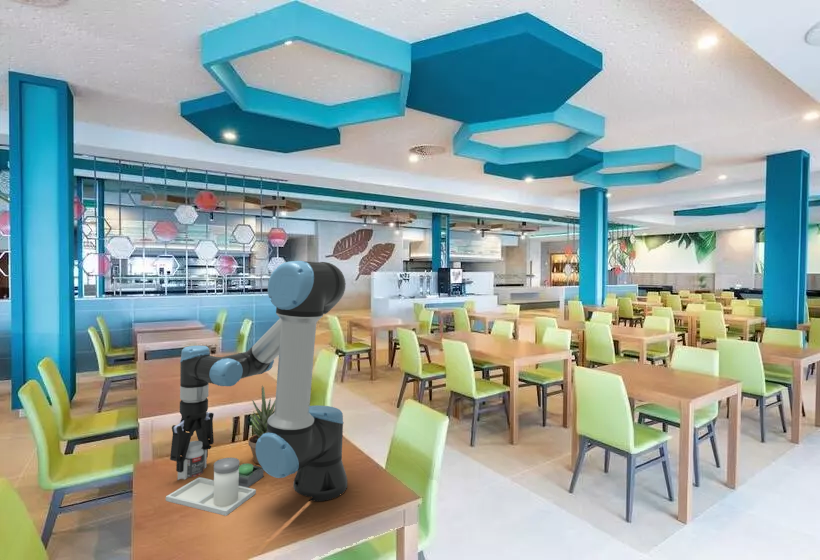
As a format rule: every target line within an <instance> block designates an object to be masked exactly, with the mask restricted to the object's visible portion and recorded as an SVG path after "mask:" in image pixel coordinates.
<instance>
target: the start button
mask: <svg viewBox="0 0 820 560" xmlns="http://www.w3.org/2000/svg"><path fill="white" fill-rule="evenodd" d="M253 465H254V464H252V463H242V464H239V474H241V475H246V476H248V475H249V474H251V473H252V472H253Z"/></svg>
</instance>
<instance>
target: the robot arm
mask: <svg viewBox="0 0 820 560" xmlns="http://www.w3.org/2000/svg"><path fill="white" fill-rule="evenodd" d="M345 291H346V278H345V276H344V274H343V272H342V271H341V269H340V268H339V267H338V266H336V265H334V264H333V263H330V262H326V261H306V260H305V261H304V260H293V261H292V260H291V261H284V262H283V263H281V264H280V265H278V266H277V267H276V268H275V269H274V270H273V271H272V273H271V274H270V276H269V280H268V283H267V295H268V298H269V299H270V302H271V304H272V305H273V306H274V307H276V309H275V314H276V315H277V317H278V318H279V319H277V321H276V322H274V324H272V326H271V327H269V328H268V330H266V332H265V333H264V334H263V335H262V336H261V337H260V338H259V339H258V340H257V341H256V342H255V344H253V345H251V347H250V348H249V349H248V350H246V351H243V352H240V353H239V352H238V353H236V354H231V355H225V356H215V355H214V356H213V355H211V352H210V348H209V347H208V346H207V345H190V346H185V347H183V349H181V355H180V361H179V363H180V365H179V367H180V369H179V370H180V375H179V376H180V381H179V382H180V383H179V384H180V386H179V391H180V392H179V399H180V401H179V414H180V415H181V418H180V421H179V423H178V424H176V425H174V424H173V425H172V426H171V431H172V438H171V447H170V448H171V449H170V457H169V459H170V461H173V462H176V465H175V466H176V469H175V470H176V472H177V481H179V480H187V479H188V477H187V461H188V460H187V459H185V458H186V454H187V450H188V447H189V443H190V442H191V439H192V437H193V435H194V433H195V435H196V437H197V438H196V439H197V441H201V442H202V445H203V446H202V448H201V449H203V451H204V469H206V468H207V462H208V461H207V459H208V455H209V454H208V453H209V450H211V448H212V445H213V444H214V441H215V440H214V424H213V423H214V421H213V419H214V416H215V415H214V414H215V413H214V412H210V411H208V410H209V398H208V397H209V390H210V389H209V384H213V385H215V386H218V387H219V386H220V387H232V386H233V387H234V386H235V385H236V384H237V383H238V382H239V381H241V380H242V379H245V378H249V377H253V376H256V375H261V374H264V373H266V372H269V371H271V369H272V367H273V366H274V364H275V359H276V358H277V357H278V362H277V363H278V364H277V377H276V387H275V388H276V389H275V399H276V400H275V399H274V401H275V407H274V409H275V412H274V413H273V414H272V415H271V416H270V417H269V418H268V422H267V433H264V434H263V435H262V436H261V437H260V438H259V439H258V440H257V443H256V449H255V450H256V457H257V460H258V462H259V464H258V465H260V467H262V468H263V470H264V471H263V472H264V473H266V474H268V475H269V476H270V477H273V478H276V479H283V478H286V477H289V476H290V475H293V474H295V477H294V480H293V490H294V491H295V492H296V493H297V494H299V495H301V496H303V497H307V498H310V499H308V502H309V501H310V502H324V501H325V500H326V501H330V500H333V499H332V498H334V499H336V498H338V497H340V496H341V495H340V494H342V493H343V492H344V491H345V490H346V491H347V489H348V477H347V473H346V470H345V466H344V463H343V432H344V431H343V430H344V429H343V427H344V418H343V417H344V415H343V412H342V410H341V409H339V408H338V407H335V406H329V405H311V403H310V402H311V395H312V394H311V391H312V380H313V370H314V369H313V367H314V357H315V356H314V355H315V343H316V330H317V322H318V321H319V320H320V319H321V318H323V317H324V315H326V314H328V313H329V312H330V311H331V310H332V309H333V308H335V306H336V305H337V304H338V303H339V302H340V301H341V299H342V298H343V296H344V294H345ZM346 488H347V489H346ZM346 491H345V492H346ZM345 492H344V493H345ZM344 493H343V494H344ZM343 494H342V495H343ZM339 495H340V496H339ZM337 496H338V497H337ZM335 497H336V498H335ZM329 499H330V500H329Z"/></svg>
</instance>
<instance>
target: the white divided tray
mask: <svg viewBox="0 0 820 560" xmlns="http://www.w3.org/2000/svg"><path fill="white" fill-rule="evenodd" d="M254 495H257V489H255V488H251V487H248V488H247V487H242V486H238V500H237V502H235V503H234V504H232V505H229V506H223V507H220V506H216V505H214V503H213V499H214V479H210V478H205V477H200V476H197V478H195V479H194V480H192V481H190V482H188V483H186V484H184V485H182V486H181V487H179V488H178V489H176V490H175V491H173V492H171V493H169V494H168V495H166V496H165V502H169V503H173V504H176V505H180V506H184V507H189V508H193V509H197V510H202V511H204V512H205V511H206V512H210V513H212V514H213V513H214V514H217V515H220V516H221V515H222V516H225V517H226V516H228V515H229V514H230V513H232V512H233V511H235V510H236V509H237V508H238V507H240V506H242V505H243V504H244V503H246V502H247V501H248V500H249V499H251V498H252V497H253V496H254Z"/></svg>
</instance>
